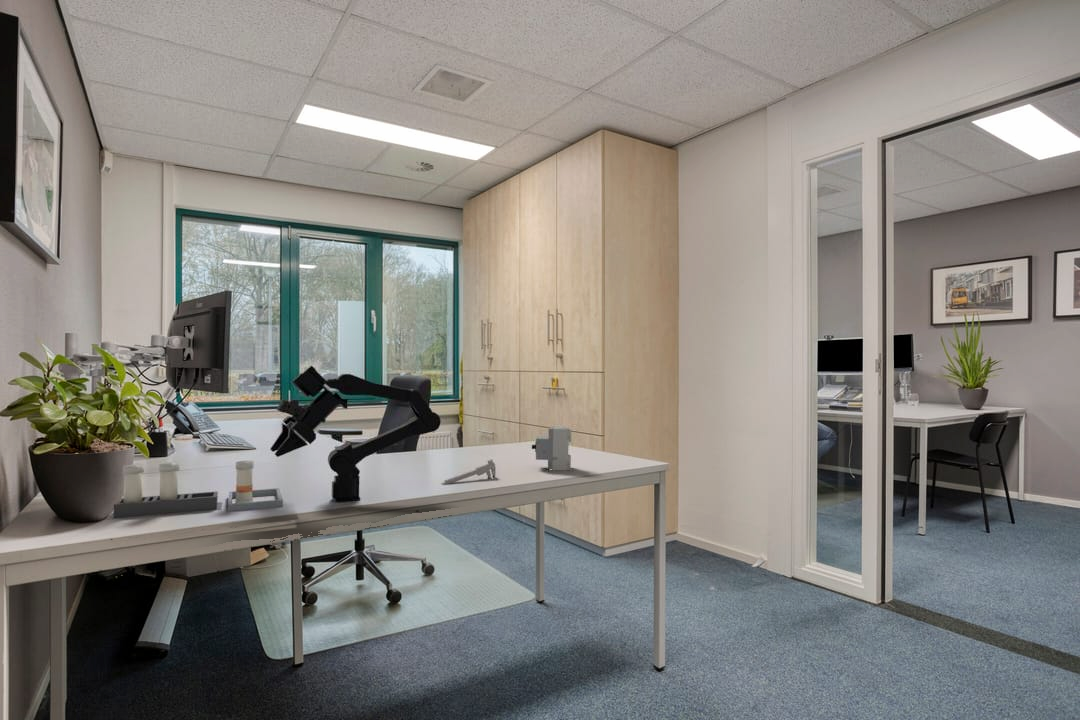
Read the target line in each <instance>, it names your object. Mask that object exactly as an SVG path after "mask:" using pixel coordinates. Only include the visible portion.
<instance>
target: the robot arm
mask: <svg viewBox="0 0 1080 720" xmlns="http://www.w3.org/2000/svg"><path fill="white" fill-rule="evenodd" d="M290 383H291V384H292V385H293V386H294V387H295V388H296V389H297V390H298V391H300V393H301V394H302V395H304V396H305V397H306V398H308V397H312V398H314V397H315V398H314V400H312V401H311V402H310V403H309V404H304V405H303V406H301V405H300V403H299V401H298V400H296V399H293V398H292V399H291V400H287V399H284V398H281V400H280V402H279V403H278V406H277V408H276V411H279V412H281V413H283V414H287V415H288V416H286V417H285V418H284V419H283V420H282V422H281V432H280V433H279V435H278V437H277V438H276V439H275V441H274V443H273V444H272V446H271V447H270V451H271V452H275V453H274V455H275V456H276V458H277V457H281V456H284V455H286V454H288V453H291V452H293V451H296V450H298V449H301V448H303V447H306V446H308V445H311V444H312V443H313V442H314V441H316V439H317V433H316V432H315V430H316V428H317V427H318V426H320V425H321V424H322V423H323V424H325V422H326V421H327V418H328V417H329V416H330V415H331V414H332V413H333V412H334V411H335V410H336V409H337V408H338V407H341V408H343V409H344V410H345V409H349V408H348V400H349V399H348V398H343V397H342V396H341V395H345V396H372V397H378V398H384V399H387V400H394V401H400V402H405V403H407V404H408V405H409V407H410V409H411V411H412V413H413V415H414V416H412V417H411V418H410V419H408V420H407V421H406V422H405V423H403V424H401V425H398V426H397V427H396V426H395V427H394V428H392V429H389V430H387V431H385V432H382V433H380V434H378V435H377V436H374V437H371V438H369V439H367V440H364V441H363V442H360V443H357V444H352V443H351V442H350V441H346V442H344V443H343V444H341V445H337V446H334V449H333V450H332V451H330V453H329V454H328V457H327V464H328V465H329V468H330V469H331V470H332V471H333V472H334V473H336V474H337V475H334V476H333V481H331V497H332V499H333V500H334V501H335V502H349V501H359V500H361V496H360V478H361V477H360V472H361V471H360V469H359V468H358V467H357V465H358V464H359V463H360V462H361V461H363V460H364V459H365V458H367V457H368V456H371V455H373V454H376V453H377V452H380V451H382V450H384V449H386V448H388V447H391V446H393V445H396V444H398V443H400V442H402V441H405V440H406V439H409V438H410V437H416V436H421V435H426V434H429V433H433V432H436V431H437V430H438V429H439V428H440V425H441V417H440V416H439V414H438V413H437V412H435V411H432V409H431V407H430V406H429V405H428V404H427V402H426V401H425V400H424V398H423V397H422V394H421V393H420V392H419V391H418V390H417V389H407V388H401V387H397V386H392V385H386V384H383V383H377V382H372V381H369V380H367V379H364V378H362V377H359V376H357V375H354V374H352V373H351V374H350V373H342V374H340V375H338V376H337V377H336V378H327V379H326V378H324V377H323V376H322V375H321V374H320V373H319V372H318V370H317V369H316V368H315V367H314V366H313V365H310V366H309V367H308V368H306V370H304V371H303V372H300V374H299V375H297V376H296V377H295V378H294V379H293V380H292V381H291V382H290ZM325 385H326V386H327V387H326V386H325ZM328 388H330V389H333V390H336V391H337V392H336V391H334V392H331V391H330V390H329V389H328ZM321 391H322V392H321ZM338 393H340V394H341V395H340V394H338ZM318 394H319V395H318Z"/></svg>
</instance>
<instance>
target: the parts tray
mask: <svg viewBox="0 0 1080 720" xmlns="http://www.w3.org/2000/svg"><path fill="white" fill-rule="evenodd" d="M262 496H263V497H265V496H276V499H271V500H259V501H253V502H245V503H235V502H234V503H233V499H235V498H236V490H235V491H234V490H233V491H229V492H228V497H227V511H228V512H233V511H244V510H245V511H246V510H256V509H257V510H258V509H267V508H277V507H279V508H280V507H284V500H283V499H284V498H283V496H282V492H281V489H280V487H275V488H274V487H273V488H263V489H260V488H259V489H253V491H252V497H262Z"/></svg>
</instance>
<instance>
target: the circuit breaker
mask: <svg viewBox="0 0 1080 720" xmlns="http://www.w3.org/2000/svg"><path fill="white" fill-rule="evenodd" d="M571 430H572V429H571V426H555V425H554V426H552V425H551V426H548V436H547V435H545V436H543V435H539V436H536V440H535V443H534V444H532V445H531V449H532V450H534V451H535V460H539V461H540V460H541V461H542V460H543V461H547V470H548V469H552V471H554V470H571V467H572V466H571V465H572V464H571V463H572V462H571V461H572V458H571V457H572V456H571V454H569V447H570V446H569V444H570V443H572V431H571Z"/></svg>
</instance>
